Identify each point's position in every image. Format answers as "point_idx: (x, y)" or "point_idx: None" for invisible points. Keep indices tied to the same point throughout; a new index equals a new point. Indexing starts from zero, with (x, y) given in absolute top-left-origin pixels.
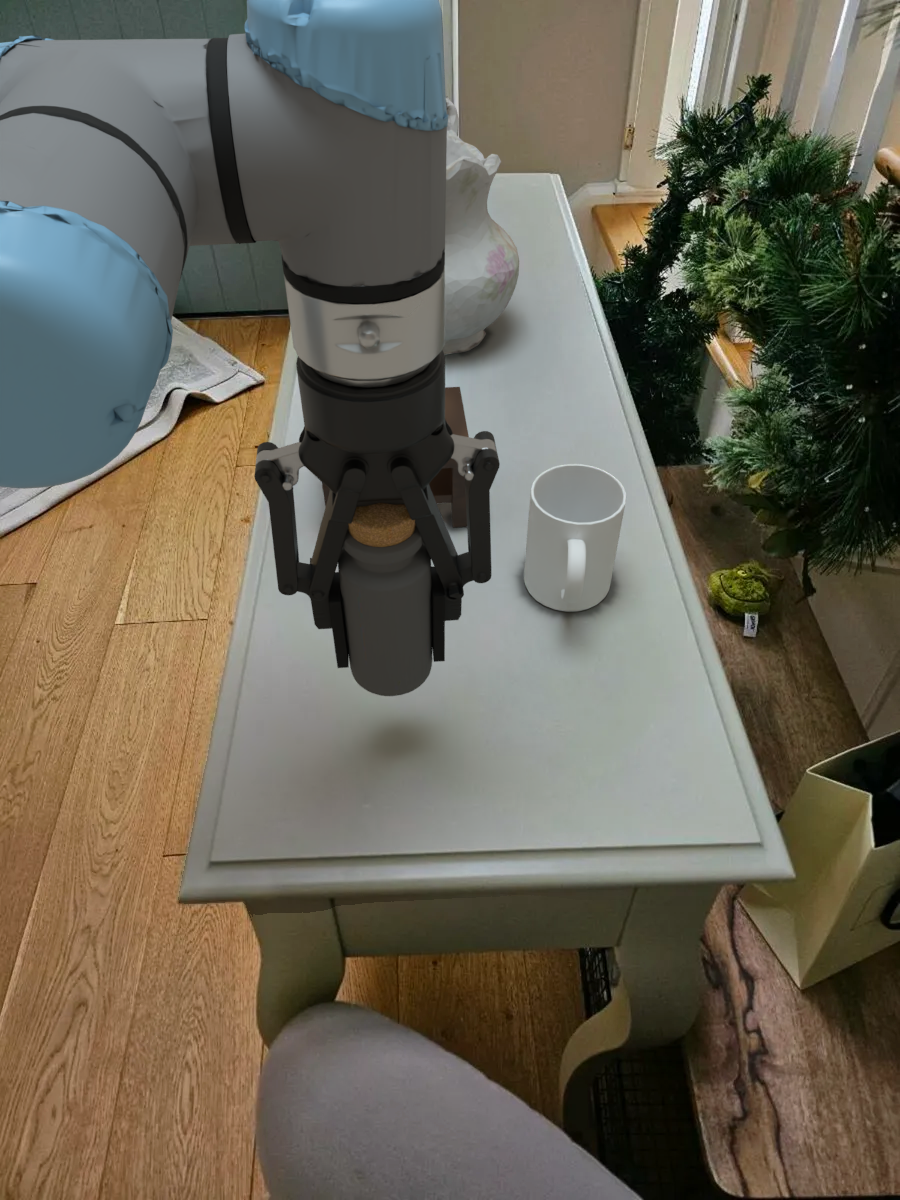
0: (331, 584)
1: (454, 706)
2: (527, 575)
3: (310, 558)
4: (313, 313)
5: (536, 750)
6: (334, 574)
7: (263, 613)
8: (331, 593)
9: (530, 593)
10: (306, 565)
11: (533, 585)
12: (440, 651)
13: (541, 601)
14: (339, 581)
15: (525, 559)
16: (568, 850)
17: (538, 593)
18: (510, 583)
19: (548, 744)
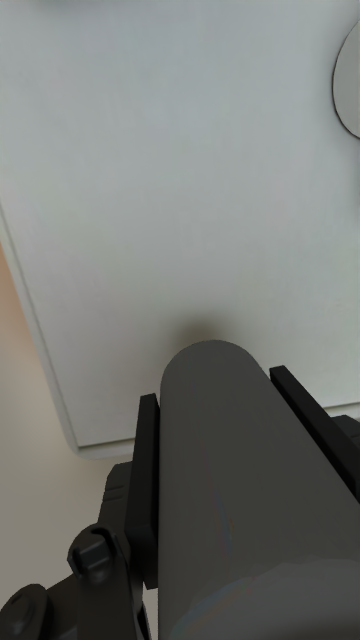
0: (140, 556)
1: (244, 295)
2: (349, 88)
3: (68, 558)
4: None
5: (316, 332)
6: (138, 531)
7: (5, 184)
8: (146, 571)
9: (338, 113)
10: (72, 634)
11: (353, 109)
12: None
13: (351, 130)
14: (155, 547)
15: (356, 57)
16: (329, 408)
17: (354, 121)
18: (312, 88)
19: (327, 325)
